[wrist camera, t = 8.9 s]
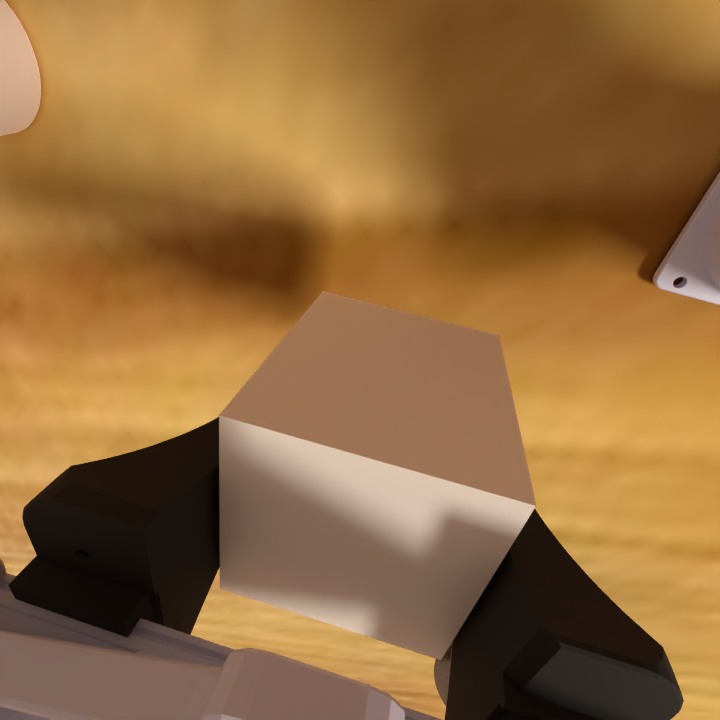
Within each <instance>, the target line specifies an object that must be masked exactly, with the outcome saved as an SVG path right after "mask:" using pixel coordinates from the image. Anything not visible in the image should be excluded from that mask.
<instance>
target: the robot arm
mask: <svg viewBox="0 0 720 720" xmlns="http://www.w3.org/2000/svg"><path fill="white" fill-rule="evenodd" d="M678 277H683V280H682V282H681V283H680V284H677V285H673V282H674V280H675V279H676V278H678ZM653 283H654V284H655V285H656V286H657V287H658V288H660V289H663V290H666V291H670V292H673V293H677V294H681V295H684V296H688V297H692V298H695V299H699V300H703V301H706V302H710V303H714V304H717V305H720V172H719V174H718V175H717V177H716V178H715V180H714V181H713V183H712V184H711V186H710V188H709V189H708V191H707V192H706V194H705V195H704V197H703V199H702V200H701V202H700V203H699V205H698V206H697V208H696V210H695V211H694V213H693V214H692V216H691V217H690V219H689V220H688V222H687V224H686V225H685V227H684V228H683V230H682V231H681V233H680V235H679V236H678V238H677V239H676V241H675V242H674V244H673V246H672V247H671V249H670V250H669V252H668V253H667V255H666V256H665V258H664V260H663V261H662V263H661V264H660V266H659V267H658V269H657V271H656V272H655V274H654V276H653ZM23 522H24V526H25V529H26V531H27V533H28V536H29V538H30V540H31V543H32V545H33V547H34V550H35V552H36V554H37V556H36V557H35V558H34V559H33V560H32V561H31V562H30V563H29V564H28V565H27V566H26V567H25V568H24V569H23V570H22V571H21V572H20V573H19V574H18V575H17V576H14V575H11V574H8V573H6V569H5V566H4V563H3V561H2V560H1V559H0V720H441V719H438V718H435V717H432V716H429V715H427V714H424V713H421V712H418V711H415V710H412V709H409V708H406V707H403V706H401V705H400V704H399V703H398V702H397V701H396V700H395V699H393V698H392V697H391V696H390V695H389V694H388V693H386V692H383V691H381V690H379V689H377V688H375V687H373V686H371V685H368V684H365V683H362V682H359V681H356V680H353V679H350V678H347V677H344V676H341V675H338V674H335V673H332V672H329V671H326V670H323V669H320V668H317V667H314V666H311V665H308V664H305V663H303V662H300V661H297V660H294V659H291V658H288V657H285V656H282V655H279V654H276V653H273V652H269V651H264V650H259V649H254V648H246V649H240V650H233V649H230V648H227V647H225V646H222V645H219V644H216V643H213V642H210V641H207V640H204V639H201V638H198V637H195V636H192V635H190V634H191V632H192V629H193V627H194V625H195V622H196V620H197V617H198V615H199V613H200V610H201V608H202V605H203V603H204V601H205V599H206V596H207V594H208V592H209V589H210V587H211V585H212V583H213V580H214V578H215V576H216V573H217V571H218V569H219V567H220V516H219V417H218V418H216V419H214V420H213V421H211V422H209V423H207V424H205V425H203V426H201V427H199V428H196V429H194V430H192V431H190V432H187V433H185V434H183V435H180V436H177V437H175V438H172V439H169V440H167V441H164V442H161V443H158V444H156V445H153V446H150V447H147V448H143V449H140V450H137V451H134V452H130V453H126V454H123V455H119V456H115V457H111V458H107V459H102V460H98V461H93V462H88V463H84V464H79V465H74V466H71V467H69V468H68V469H67V470H66V471H64V472H63V473H62V474H61V475H60V476H58V477H57V478H56V479H55V480H54V481H53V482H52V483H50V484H49V485H48V486H47V487H46V488H45V489H44V490H43V491H41V492H40V493H39V494H38V495H37V496H36V497H35V498H34V499H32V500H31V501H30V502H29V503H28V504H27V505H26V506H25V507H24V510H23ZM683 701H684V700H683V697H682V694H681V691H680V688H679V685H678V683H677V680H676V678H675V675H674V672H673V670H672V667H671V665H670V663H669V660H668V658H667V656H666V653H665V651H664V649H663V647H662V646H661V645H660V644H659V643H658V642H657V641H655V640H654V639H653V638H652V637H651V636H650V635H649V634H648V633H646V632H645V631H644V630H643V629H642V628H641V627H640V626H639V625H638V624H636V623H635V622H634V621H633V620H632V619H631V618H630V617H629V616H627V615H626V614H625V613H624V612H623V611H622V610H621V609H620V608H619V607H618V606H617V605H616V604H615V603H614V602H613V601H612V600H611V599H610V598H609V597H608V596H607V595H606V594H605V593H604V592H603V591H602V590H601V589H600V588H599V587H598V586H597V585H596V584H595V583H594V582H593V581H592V580H591V579H590V578H589V576H588V575H587V574H586V573H585V572H584V571H583V570H582V569H581V568H580V566H579V565H578V564H577V563H576V562H575V561H574V560H573V558H572V557H571V556H570V555H569V554H568V553H567V551H566V550H565V549H564V548H563V547H562V545H561V544H560V543H559V541H558V540H557V539H556V537H555V536H554V535H553V534H552V532H551V531H550V530H549V528H548V527H547V526H546V524H545V523H544V522H543V520H542V519H541V517H540V516H539V514H538V513H537V511H536V510H535V509H534V510H533V512H532V513H531V515H530V517H529V518H528V520H527V522H526V523H525V525H524V526H523V528H522V530H521V531H520V533H519V535H518V536H517V538H516V539H515V541H514V543H513V544H512V546H511V547H510V549H509V551H508V552H507V554H506V556H505V557H504V559H503V560H502V562H501V564H500V565H499V567H498V568H497V570H496V572H495V573H494V575H493V577H492V578H491V580H490V581H489V583H488V585H487V586H486V588H485V590H484V591H483V593H482V594H481V596H480V598H479V599H478V601H477V602H476V604H475V606H474V607H473V609H472V611H471V612H470V614H469V615H468V617H467V619H466V620H465V622H464V624H463V625H462V627H461V628H460V630H459V632H458V633H457V635H456V636H455V638H454V640H453V644H452V655H451V666H450V677H449V687H448V696H447V705H446V714H445V720H670V719H672V718H673V717H674V716H675V715H676V714H677V713H678V712H679V711H680V710H681V707H682V704H683Z"/></svg>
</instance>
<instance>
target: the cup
mask: <svg viewBox="0 0 720 720" xmlns="http://www.w3.org/2000/svg"><path fill="white" fill-rule="evenodd" d="M40 99H41V80H40V73H39V68H38V64H37V60H36V57H35V54H34V51H33V48H32V45H31V43H30V41H29V38H28V36H27V34H26V32H25V30H24V28H23V26H22V25H21V23H20V21H19V20H18V18H17V16H16V15H15V13H14V12H13V10H12V9H11V8H10V6H9V5H8V4H7V3H6V1H5V0H0V136H3V135H8V134H13V133H17V132H20V131H22V130H24V129H26V128H27V127H28V126H29V125H30V124H31V123H32V122H33V120H34V119H35V117H36V115H37V112H38V109H39V105H40Z"/></svg>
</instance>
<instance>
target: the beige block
mask: <svg viewBox="0 0 720 720" xmlns="http://www.w3.org/2000/svg"><path fill="white" fill-rule="evenodd" d="M535 507H536V503H535V498H534V494H533V489H532V484H531V480H530V475H529V471H528V466H527V461H526V457H525V452H524V447H523V443H522V438H521V434H520V429H519V424H518V420H517V415H516V411H515V406H514V401H513V397H512V392H511V387H510V383H509V378H508V374H507V369H506V364H505V360H504V355H503V350H502V346H501V341H500V337H499V335H495V334H491V333H487V332H483V331H479V330H475V329H471V328H467V327H463V326H459V325H455V324H451V323H447V322H443V321H439V320H435V319H431V318H427V317H423V316H419V315H415V314H411V313H408V312H404V311H400V310H396V309H392V308H388V307H384V306H380V305H376V304H372V303H368V302H364V301H360V300H356V299H352V298H348V297H344V296H340V295H336V294H332V293H328V292H324V291H323V292H322V293H321V294H320V295H319V296H318V298H317V299H316V300H315V301H314V302H313V304H312V305H311V306H310V307H309V308H308V310H307V311H306V312H305V313H304V314H303V316H302V317H301V318H300V319H299V320H298V322H297V323H296V324H295V325H294V326H293V328H292V329H291V330H290V331H289V332H288V334H287V335H286V336H285V337H284V338H283V339H282V341H281V342H280V343H279V344H278V345H277V347H276V348H275V349H274V350H273V351H272V353H271V354H270V355H269V356H268V357H267V359H266V360H265V361H264V362H263V363H262V365H261V366H260V367H259V368H258V369H257V371H256V372H255V373H254V374H253V375H252V377H251V378H250V379H249V380H248V381H247V383H246V384H245V385H244V386H243V387H242V388H241V390H240V391H239V392H238V393H237V394H236V396H235V397H234V398H233V399H232V400H231V402H230V403H229V404H228V405H227V406H226V408H225V409H224V410H223V411H222V412H221V414H220V415H219V516H220V589H223V590H226V591H229V592H232V593H235V594H239V595H242V596H245V597H248V598H251V599H254V600H257V601H260V602H263V603H266V604H269V605H272V606H276V607H279V608H282V609H285V610H288V611H291V612H294V613H297V614H300V615H303V616H306V617H309V618H312V619H316V620H319V621H322V622H325V623H328V624H331V625H334V626H337V627H340V628H343V629H346V630H349V631H353V632H356V633H359V634H362V635H365V636H368V637H371V638H374V639H377V640H380V641H383V642H386V643H390V644H393V645H396V646H399V647H402V648H405V649H408V650H411V651H414V652H417V653H420V654H423V655H427V656H430V657H433V658H436V659H439V660H441V659H442V658H443V656H444V654H445V653H446V651H447V649H448V648H449V646H450V645H451V643H452V641H453V640H454V638H455V636H456V635H457V633H458V632H459V630H460V628H461V627H462V625H463V624H464V622H465V620H466V619H467V617H468V615H469V614H470V612H471V611H472V609H473V607H474V606H475V604H476V602H477V601H478V599H479V598H480V596H481V594H482V593H483V591H484V590H485V588H486V586H487V585H488V583H489V581H490V580H491V578H492V577H493V575H494V573H495V572H496V570H497V568H498V567H499V565H500V564H501V562H502V560H503V559H504V557H505V556H506V554H507V552H508V551H509V549H510V547H511V546H512V544H513V543H514V541H515V539H516V538H517V536H518V535H519V533H520V531H521V530H522V528H523V526H524V525H525V523H526V522H527V520H528V518H529V517H530V515H531V513H532V512H533V510H534V509H535Z"/></svg>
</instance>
